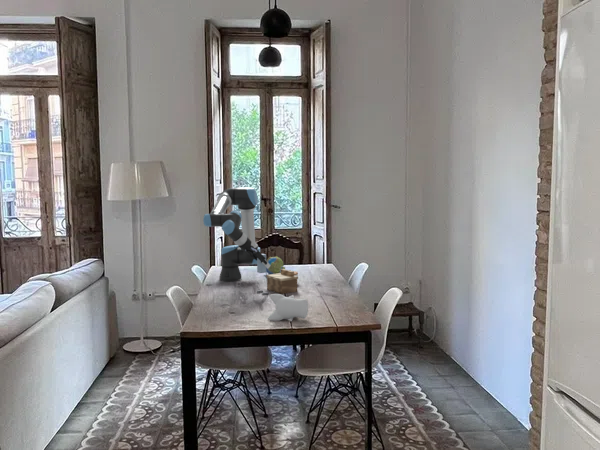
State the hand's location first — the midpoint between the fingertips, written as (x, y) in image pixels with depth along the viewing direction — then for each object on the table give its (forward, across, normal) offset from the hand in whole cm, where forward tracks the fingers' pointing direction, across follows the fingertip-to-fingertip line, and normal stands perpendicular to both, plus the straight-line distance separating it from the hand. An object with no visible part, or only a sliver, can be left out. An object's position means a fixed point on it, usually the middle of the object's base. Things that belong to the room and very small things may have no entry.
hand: (267, 266), depth 325 cm
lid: (+13, 0, +2) cm, 13 cm away
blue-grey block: (0, 0, -5) cm, 5 cm away
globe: (+37, -47, +14) cm, 61 cm away
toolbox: (+19, 0, -4) cm, 19 cm away
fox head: (-4, +56, -27) cm, 62 cm away
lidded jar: (+30, -14, +7) cm, 34 cm away
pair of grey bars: (+9, 0, -14) cm, 17 cm away
